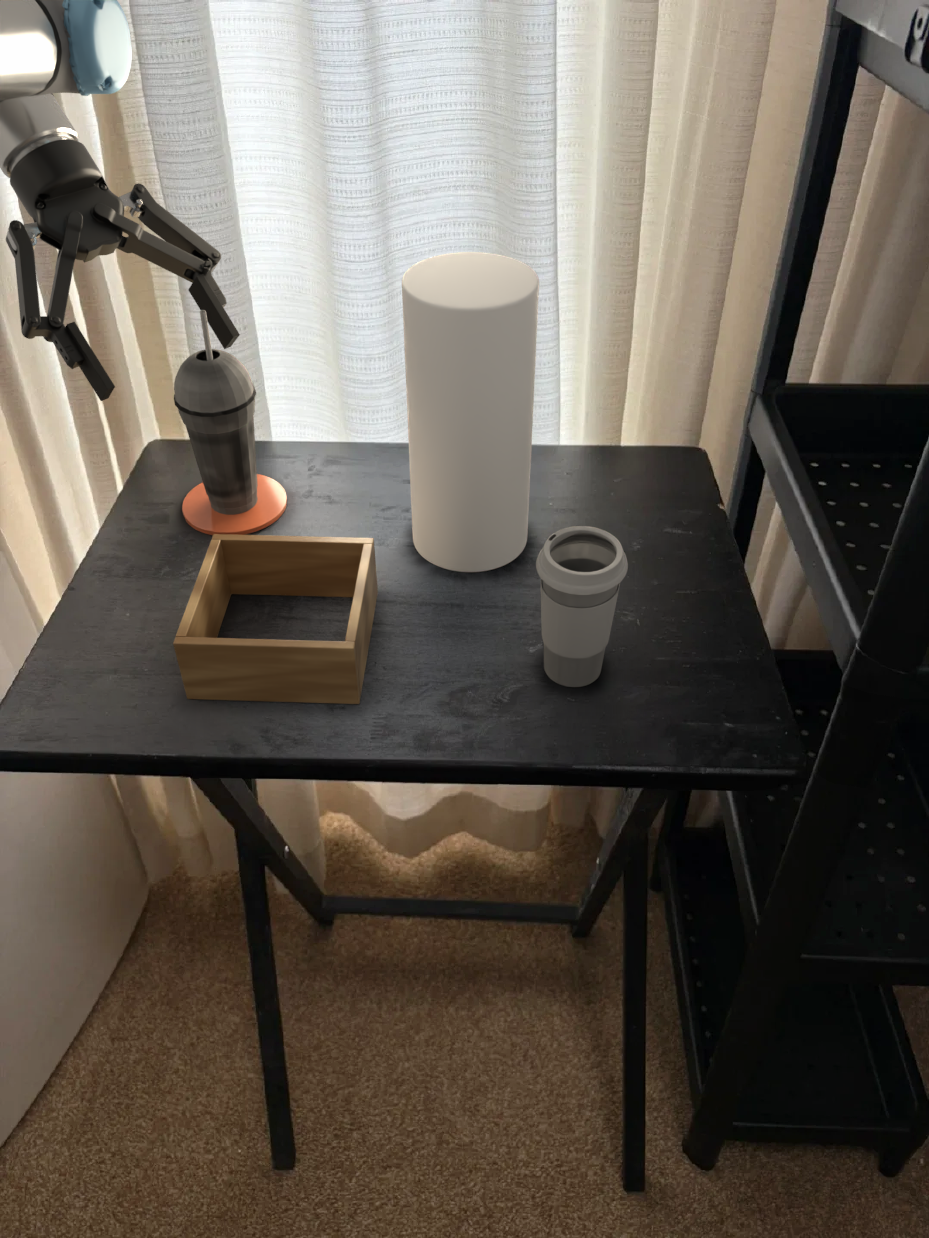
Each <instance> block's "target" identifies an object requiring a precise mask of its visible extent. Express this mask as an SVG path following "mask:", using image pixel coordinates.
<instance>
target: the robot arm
mask: <svg viewBox="0 0 929 1238" xmlns="http://www.w3.org/2000/svg"><path fill="white" fill-rule="evenodd" d="M132 61H133V46H132V39H131V30H130V27H129V23H128V19H127V16H126V14H125V11H124V9H123V7H122V5H121V4H120V2H119V0H0V170H1V172H2V174H3V175H4V176H6V177H7V178H8V179H9V184H10V186H11V188H12V190H13V192H14V193H15V194H16V196H17V198H18V199H19V201H20V202H21V204H22V206H23V208H24V209H25V211H26V212H27V214H28V215H29V216H30V217H31V218H32V220H33V222H29V223H23V222H21V221H20V220H17V219H14V220H11V221H10V222H9V225H8V228H7V233H6V235H5V242H6V245H7V246H8V248H9V251H10V252H11V254H12V257H13V259H14V266H15V275H16V287H17V298H18V309H19V318H20V320H19V321H20V330H21V334H22V336H23V337H24V338H26V339H29V340H32V339H34V338H35V337H43V340H45V341H46V342H48V343H52V344H53V345H54V346H55V348H56V350H57V351H58V354H59V355H60V356H61V358H62V359H63V361H64V362H65V365H66V366H68V367H69V368H70V369H71V370H74V369H76V368H80V371H81V372H82V374H83V375H84V377H85V378H86V380H87V382H88V383H89V385H90V386H91V388H92V389H93V391H94V392H95V394H96V396H97V398H98V399H99V400H100V402H103V401H105V400H107V399H110V397H111V394H112V393H113V391H114V389H115V388H116V386H115V384H114V382H113V381H112V379H111V378H110V376H109V374H108V373H107V371H106V370H105V368H104V366H103V365H102V363H101V361H100V360H99V358H98V357H97V355H96V354H95V352H94V351H93V350H94V349H92V347H91V345H90V344H89V342H88V341H87V339H86V337H85V336H84V334H83V333H82V331H81V330H80V328H79V326H78V324H77V323H76V321H72V322H69V323H67V324H66V325H65V324H64V322H65V316H66V313H67V312H66V311H67V305H68V299H69V294H70V289H71V284H72V277H73V273H74V266H75V262H76V260H77V261H82V262H83V263H84V264H85V263H87V262H88V263H89V262H90V261H93V260H94V259H95V258H96V257H98V256H108V255H111V254H114V253H115V251H116V250H120V251H121V252H124V253H126V254H134V255H135V256H138V257H139V258H141V259H144V260H146V261H148V262H150V263H151V264H154V265H156V266H158V267H160V268H162V269H164V270H166V271H167V272H170V273H171V274H173V275H176V276H178V277H180V278H182V279H184V280H186V281H188V282H189V283H191V284H190V286H189V288H188V290H187V291H188V292H189V294H190V295H191V297H192V299H193V301H194V302H195V304H196V305H197V307H198V309H199V311H201V310H205V311H206V316H207V322H208V326H209V327H210V328H211V330H212V332H213V334H214V335H215V336H216V338H217V339H218V341H219V343H220V345H221V347H222V348H223V349H224V350H226V349H229V348H231V347H232V346H233V345H234V343H235V342H236V341H237V339H238V338H239V336H240V335H241V334H240V332H239V331H238V329H237V327H236V326H235V324H234V323H233V321H232V319H231V317H230V316H229V315H228V313H227V311H226V309H225V307H226V306H227V304H228V302H227V298H226V296H225V295H224V293H223V291H222V290H221V288H220V286H219V284H218V283H217V281H216V280H215V277H214V276H213V274H212V273H213V272H214V270H215V269H216V268H217V266H218V265H219V263H220V261H221V259H222V253H221V252H220V251H219V250H218V249H216V248H215V247H214V246H213V245H212V244H210V243H209V242H208V241H207V240H205V239H204V238H203V237H201V236H200V235H199V234H197V233H196V232H195V231H194V230H192V229H191V228H190V227H188V225H186V224H185V223H184V222H182V221H181V220H179V218H177V217H176V216H174V215H173V214H172V213H171V212H169V211H168V210H167V209H165V208H164V207H163V206H162V205H161V204H159V203H158V202H157V201H156V199H155V198H154V197H153V195H152V194H151V193H150V191H149V190H148V189H147V188H146V186H145V185H143V184H142V183H135V184H134V185H133V187H132V189H131V191H129V192H127V193H124V194H122V195H119V196H118V195H116V194H115V193H114V192H112V191H111V189H110V188H109V187H108V185H107V184H108V183H107V182H106V179H105V177H104V175H103V173H102V172H101V170H100V169H99V167H98V165H97V164H96V162H95V160H94V159H93V157H92V156H91V154H90V152H89V150H88V149H87V147H86V146H85V145H84V144H83V143H82V142H80V136H79V134H78V132H77V131H76V129H75V127H74V125H73V124H72V123H71V121H70V119H69V118H68V116H67V114H66V113H65V112H64V110H63V108H62V107H61V105H60V103H59V102H58V100H57V99H56V97H55V96H54V94H80V96H83V97H88V96H90V95H112V94H115V93H117V92H119V91H120V90H121V89H122V88H123V86H124V85H125V84H126V83H127V80H128V78H129V75H130V72H131V68H132ZM125 212H127V213H129V214H130V217H132V218H133V219H136V218H138V220H139V221H140V222H141V223H142V224H143V226H145V227H146V228H148V229H149V230H150V231H152V232H153V233H154V234H156V235H157V236H156V235H154V234H152V233H150V232H149V231H147V230H144V229H143V227H142V225H140V223H137V222H136V221H134V220H132V219H130V218H128V217H126V216H125ZM124 233H125V234H126V235H127V236H124V235H123V234H124ZM38 239H40V241H42V242H44V243H46V244H47V245H49V246H51V247H53V248H54V249H56V250H57V251H58V252H57V255H56V256H57V257H56V262H55V268H54V270H55V271H54V276H53V281H52V287H51V292H50V298H49V303H48V308H47V312H46V313H47V314H46V315H43V316H42V315H41V310H40V307H41V306H40V300H39V299H40V297H39V287H38V278H37V266H36V257H35V249H36V247H37V244H38Z"/></svg>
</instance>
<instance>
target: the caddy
mask: <svg viewBox="0 0 929 1238" xmlns="http://www.w3.org/2000/svg"><path fill="white" fill-rule="evenodd" d="M376 562H377V561H376V550H375V539H374V537H353V536H352V537H351V536H350V537H348V536H347V537H346V536H345V537H344V536H313V535H312V536H310V535H309V536H308V535H306V536H305V535H269V534H268V535H266V534H265V535H264V534H245V535H233V534H213V535H212V537H211V540H210V541H209V546H208V547H207V551H206V553H205V555H204V558H203V561H202V564H201V566H200V570H199V572H198V574H197V577H196V581H195V582H194V586H193V588H192V590H191V593H190V595H189V598H188V601H187V604H186V606H185V609H184V613H183V615H182V617H181V620H180V622H179V626H178V629H177V631H176V634H175V637H174V639H173V642H172V645H173V649H174V653H175V656H176V661H177V664H178V669H179V672H180V676H181V680H182V684H183V688H184V692H185V696H186V699H187V700H206V701H207V700H209V701H211V700H212V701H239V702H240V701H241V702H242V701H243V702H270V703H271V702H272V703H273V702H275V703H304V704H306V703H309V704H337V705H338V704H339V705H342V704H343V705H360V703H361V696H362V690H363V685H364V679H365V673H366V667H367V660H368V655H369V648H370V643H371V637H372V630H373V623H374V619H375V611H376V606H377V600H378V595H379V590H378V589H379V588H378V576H377V563H376ZM232 595H251V596H254V595H255V596H256V595H257V596H285V597H286V596H290V597H293V596H294V597H328V598H352V601H351V607H350V611H349V617H348V622H347V627H346V632H345V638H344V640H342V641H341V640H340V641H339V640H338V641H337V640H303V639H300V640H299V639H273V638H271V639H269V638H268V639H267V638H237V637H236V638H233V637H232V638H231V637H218V636H219V633H220V630H221V627H222V623H223V620H224V617H225V615H226V613H227V608H228V605H229V602H230V599H231V596H232Z"/></svg>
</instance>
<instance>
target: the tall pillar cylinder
mask: <svg viewBox="0 0 929 1238" xmlns="http://www.w3.org/2000/svg"><path fill="white" fill-rule="evenodd" d="M539 294H540V279H539V276H538V274H537V272H536V271H535V270H534V269H533V268H532V267H531V266H530V265H528V264H526V263H525V262H523V261H521V260H520V259H519V260H518V259H516V258H513V257H510V256H507V255H503V254H497V253H492V252H483V251H482V252H481V251H460V252H451V253H450V252H449V253H444V254H439V255H434V256H431V257H428V258H425V259H422V260H420V261H418V262H417V263H416V262H415V263H414V264H413V265H411V266H410V267H409V268H407V270H406V271H405V272H404V274H403V275H402V277H401V300H402V302H401V303H402V322H403V323H402V324H403V341H404V342H403V347H404V369H405V371H404V372H405V390H406V391H405V392H406V413H407V437H408V438H407V439H408V459H409V483H410V484H409V485H410V487H409V488H410V507H411V528H412V530H411V531H412V543H413V546H414V548H415V549H416V552H418V554H419V555H420V556H421V557H422V558H423V559H424V560H426V561H427V562H429V563H431V564H433V565H434V566H437V567H439V568H442V569H445V570H448V571H453V572H460V573H480V572H487V571H491V570H496V569H499V568H501V567H503V566H506V565H508V564H509V563H511V562H513V561H515V559H517V558H518V557H519V556H520V555H521V554H522V553H523V551H524V550H525V548H526V545H527V542H528V530H529V528H528V527H529V507H530V506H529V505H530V487H531V467H532V466H531V465H532V464H531V463H532V446H533V426H534V425H533V423H534V422H533V421H534V402H535V401H534V400H535V381H536V380H535V379H536V359H537V358H536V357H537V337H538V321H539V320H538V317H539V316H538V315H539V297H540V295H539Z"/></svg>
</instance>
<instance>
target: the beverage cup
mask: <svg viewBox="0 0 929 1238" xmlns="http://www.w3.org/2000/svg"><path fill="white" fill-rule="evenodd" d="M199 316H200V321H201V328H202V336H203V342H204V343H203V344H204V348H205V349H201V350H198V351H196V352H194V353H192V354H191V355H189V356H188V357H187V358H186V359H185V360H184V361H183V362H182V363H181V365H180V366H179V368H178V370H177V373H176V375H175V378H174V382H173V392H174V395H173V402H174V406H175V407H176V408H177V411H178V415H179V416H180V419H181V421H182V423H183V425H185V428H186V431H187V435H188V438H189V441H190V445H191V448H192V451H193V454H194V457H195V462H196V464H197V468H198V471H199V475H200V477H201V481H202V482H203V484H204V487H205V490H206V494H207V495H208V498H209V501H210V503H211V507H212V508H213V509H214V511H216V512H218V513H221V514H226V515H235V514H240V513H243V512H246V511H248V510H250V509H251V508H253V507H254V506H255V505H256V503H257V500H258V498H257V486H258V484H257V474H258V469H257V468H258V467H257V452H256V437H255V436H256V435H255V419H254V415H255V412H256V411H255V410H256V396H257V391H256V388H255V385H254V383H253V380H252V378H251V375H250V373H249V370H248V369H247V367H246V366H245V365H244V364H243V363H242V362H241V361H240V360H239V359H238V358H237V357H236V356H234V355H233V354H231V353H229V352H227V351H225V350H222V349H216V348H212V343H211V337H210V330H209V329H210V328H209V323H208V322H207V316H206V311H205V310H199Z"/></svg>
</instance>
